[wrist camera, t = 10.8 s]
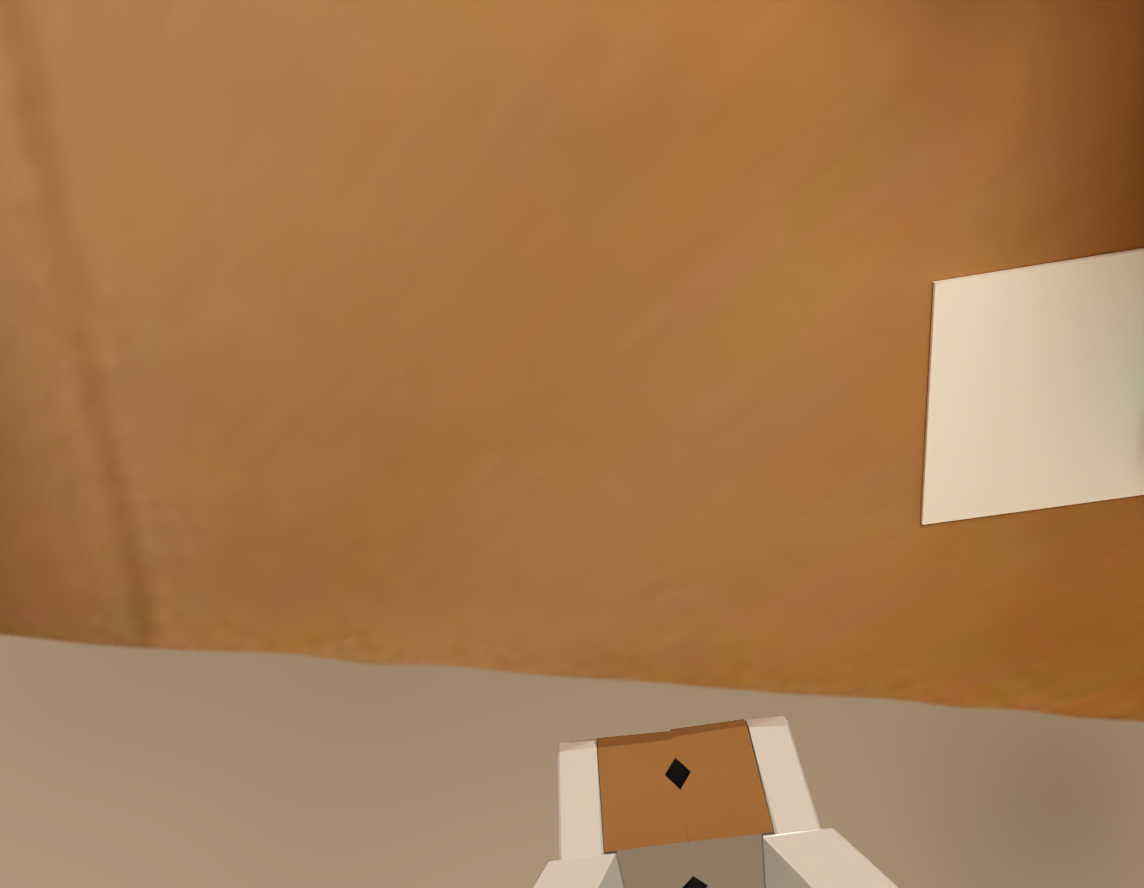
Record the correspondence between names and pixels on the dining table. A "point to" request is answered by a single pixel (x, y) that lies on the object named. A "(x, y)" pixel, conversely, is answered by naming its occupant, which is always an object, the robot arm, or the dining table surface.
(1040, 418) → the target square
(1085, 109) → the dining table surface
